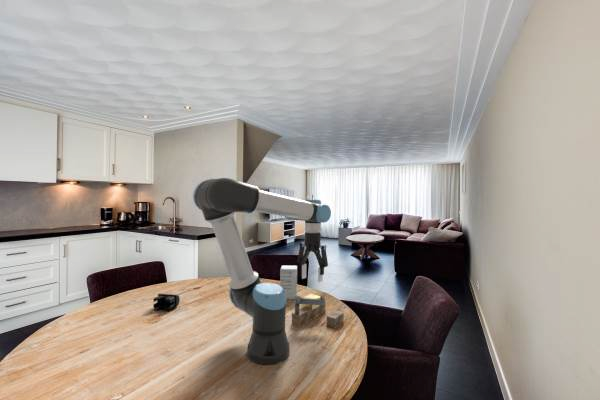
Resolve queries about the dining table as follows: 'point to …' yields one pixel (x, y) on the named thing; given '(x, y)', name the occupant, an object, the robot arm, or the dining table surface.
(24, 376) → the dining table surface
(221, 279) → the dining table surface
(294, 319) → the body
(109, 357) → the dining table surface
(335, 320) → the block
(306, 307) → the gold metallic block
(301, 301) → the lever
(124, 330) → the dining table surface
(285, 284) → the supplement box
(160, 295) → the end cap
